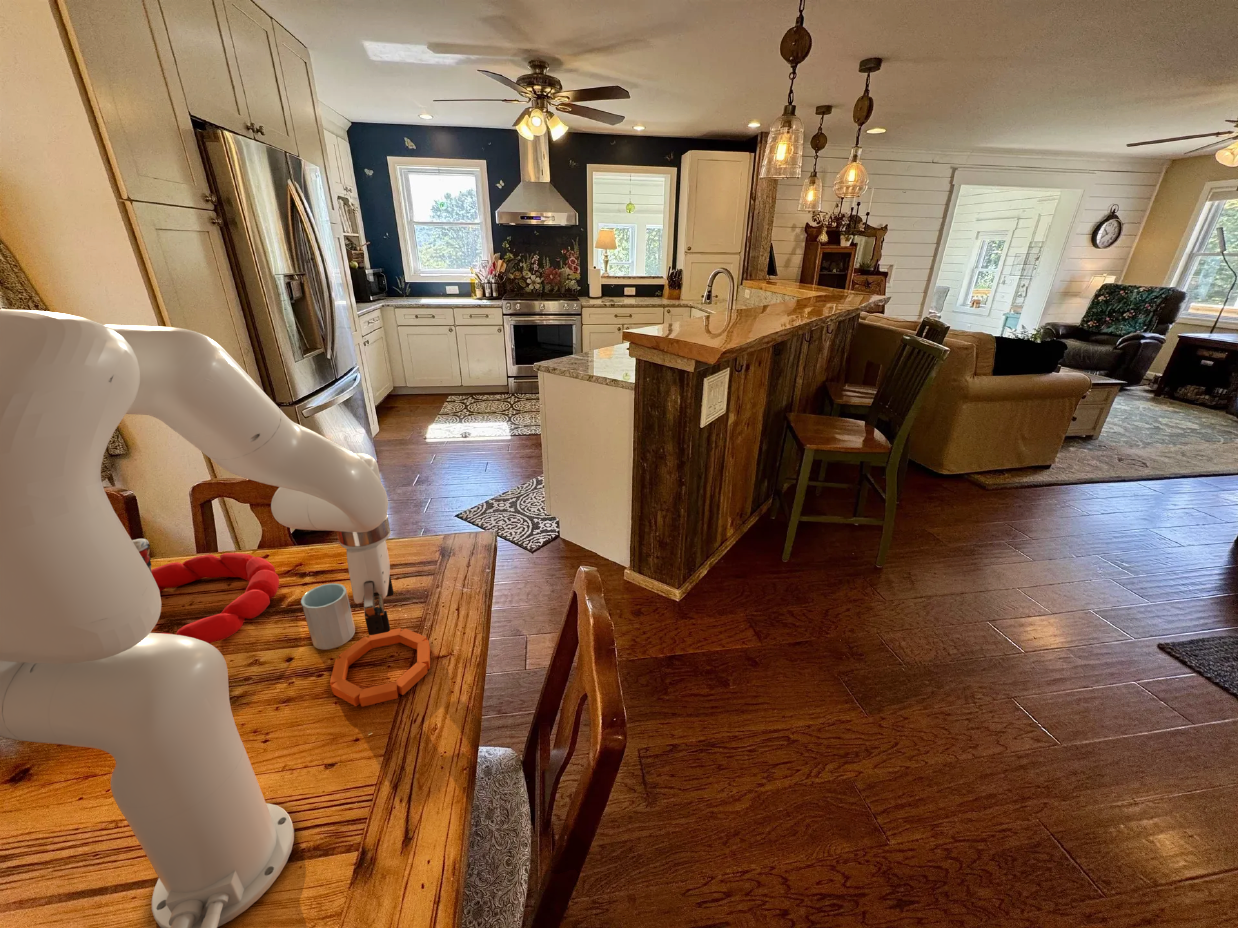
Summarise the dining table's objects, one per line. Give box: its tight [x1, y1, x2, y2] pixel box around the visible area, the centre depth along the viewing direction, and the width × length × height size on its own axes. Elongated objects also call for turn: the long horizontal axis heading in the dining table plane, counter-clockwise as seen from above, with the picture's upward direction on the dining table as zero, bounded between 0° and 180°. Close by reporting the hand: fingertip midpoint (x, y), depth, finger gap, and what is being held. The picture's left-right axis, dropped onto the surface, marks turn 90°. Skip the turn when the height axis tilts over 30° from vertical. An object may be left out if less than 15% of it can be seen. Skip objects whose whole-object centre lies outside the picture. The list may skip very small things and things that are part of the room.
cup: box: [300, 582, 356, 650], centre depth 87 cm, size 7×7×9 cm
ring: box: [329, 627, 431, 708], centre depth 82 cm, size 15×15×2 cm
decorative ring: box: [151, 552, 280, 644], centre depth 93 cm, size 7×30×30 cm
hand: (382, 613), depth 86 cm, fingers open, 9 cm apart
